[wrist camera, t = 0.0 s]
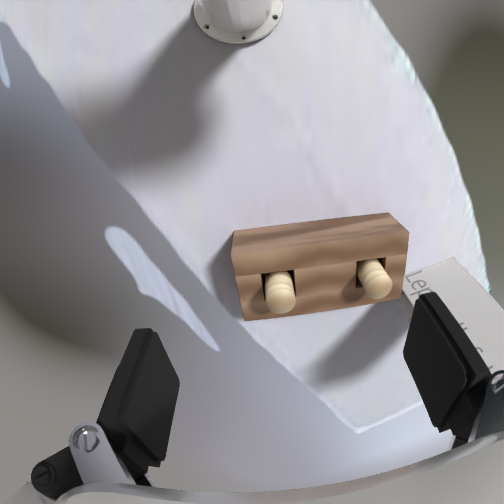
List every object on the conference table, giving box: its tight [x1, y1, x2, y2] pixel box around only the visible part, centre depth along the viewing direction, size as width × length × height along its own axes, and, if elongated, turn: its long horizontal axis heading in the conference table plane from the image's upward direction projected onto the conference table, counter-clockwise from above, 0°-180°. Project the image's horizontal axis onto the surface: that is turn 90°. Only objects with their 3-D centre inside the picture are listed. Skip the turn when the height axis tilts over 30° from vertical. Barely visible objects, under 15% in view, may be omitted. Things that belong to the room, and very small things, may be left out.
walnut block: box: [231, 213, 409, 321], centre depth 46 cm, size 12×26×8 cm, turn 98°
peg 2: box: [356, 258, 392, 300], centre depth 42 cm, size 4×4×8 cm
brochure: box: [396, 257, 504, 374], centre depth 39 cm, size 14×6×30 cm, turn 109°
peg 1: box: [264, 270, 296, 314], centre depth 43 cm, size 4×4×8 cm
